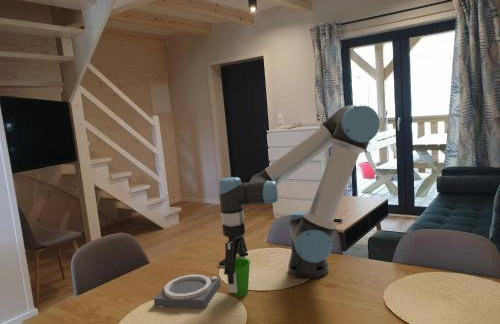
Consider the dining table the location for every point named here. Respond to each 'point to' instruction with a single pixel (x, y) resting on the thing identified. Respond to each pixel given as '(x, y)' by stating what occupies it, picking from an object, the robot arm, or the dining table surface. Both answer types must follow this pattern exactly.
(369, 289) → the dining table surface
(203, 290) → the square coaster tray
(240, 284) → the cup
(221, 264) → the remote control
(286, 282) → the dining table surface
